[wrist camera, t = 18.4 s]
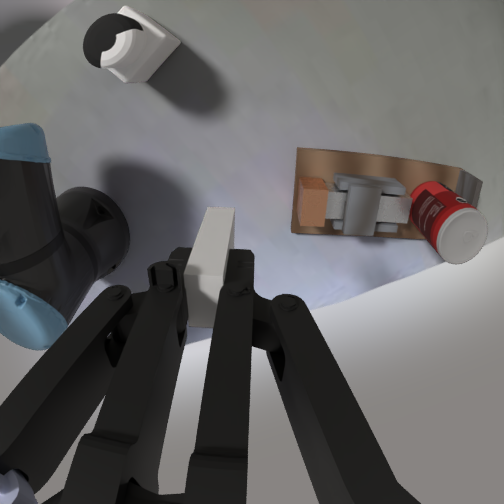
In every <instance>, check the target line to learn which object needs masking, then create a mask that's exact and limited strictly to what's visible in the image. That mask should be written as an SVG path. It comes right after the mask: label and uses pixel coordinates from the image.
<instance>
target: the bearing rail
mask: <svg viewBox="0 0 504 504" xmlns="http://www.w3.org/2000/svg"><path fill="white" fill-rule="evenodd" d="M299 177H313V178H322V180H323V181H324V183H336V185H337V186H338V188H339V189H340V190H348V193H347V200H346V207H345V214H344V219H326V218H325V223H324V227H317V226H300V223H299V219H298V215H297V211H296V208H297V197H298V184H299ZM428 181H436V182H440V183H443V184H444V185H446V186H447V187H449V188H450V189H451V190H453V191H454V192H455V193H457V194H458V195H459V196H461V197H462V198H463V199H465V200H466V201H467V202H469V203H470V204H471V205H472V206H474V207H475V208H476V207H477V203H478V199H479V195H480V191H481V187H482V183H483V182H482V181H481V180H479V179H478V178H476V177H475V176H473V175H471V174H470V173H468V172H466V171H465V170H463V169H461V168H458V167H452V166H447V165H441V164H436V163H430V162H424V161H418V160H411V159H405V158H398V157H390V156H383V155H375V154H366V153H357V152H347V151H337V150H326V149H313V148H298V147H297V156H296V170H295V184H294V197H293V209H292V221H291V233H309V234H332V235H354V236H374V237H393V238H411V239H426V238H425V237H424V236H423V235H422V233H421V232H420V231H419V230H418V229H417V227H416V226H415V225H414V224H413V223H412V222H411V220H410V218H408V222H407V224H406V223H392V222H378V221H376V220H377V215H378V209H379V204H380V199H381V193H385V194H396V195H405V192H406V193H407V194H408V195H409V196H410V195H411V193H412V192H413V190H414V189H415V188H416V187H417V186H419V185H420V184H422V183H424V182H428Z"/></svg>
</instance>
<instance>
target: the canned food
mask: <svg viewBox="0 0 504 504" xmlns="http://www.w3.org/2000/svg"><path fill="white" fill-rule="evenodd" d="M410 197H411V198H412V199H413V200H412V204H411V209H410V213H409V218H410V220H411V222H412V223H413V224H414V225H415V226H416V227H417V229H418V230H419V231H420V232H421V233H422V235H423V236H424V237H425V238H426V239H427V241H428V242H429V243H430V244H431V245H432V247H433V248H434V249H435V250H436V252H437V253H438V254H439V255H440V256H441V257H442V258H443V259H444V260H445V261H446V262H448V263H451V264H462V263H465V262H467V261H469V260H471V259H472V258H473V257H475V256H476V255H477V254H478V253H479V251H480V250H481V249H482V247H483V245H484V244H485V241H486V239H487V234H488V224H487V221H486V219H485V217H484V216H483V215H482V213H481V212H479V211H478V210H477V209H476V208H475V207H474V206H472V205H471V204H470V203H469V202H467V201H466V200H465V199H463V198H462V197H461V196H459V195H458V194H457V193H455V192H454V191H453V190H451V189H450V188H449V187H447V186H446V185H444V184H443V183H440V182H436V181H428V182H424V183H422V184H420V185H419V186H417V187H416V188H415V189H414V190H413V192H412V193H411V195H410Z"/></svg>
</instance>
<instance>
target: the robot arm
mask: <svg viewBox="0 0 504 504" xmlns="http://www.w3.org/2000/svg"><path fill="white" fill-rule="evenodd" d="M50 162H51V158H50V157H49V155H48V150H47V145H46V140H45V134H44V131H43V129H42V128H41V127H40V126H39V125H37V124H34V123H25V124H18V125H11V126H6V127H0V333H1V334H2V335H3V336H5V337H6V338H8V339H9V340H11V341H12V342H14V343H16V344H18V345H20V346H22V347H25V348H28V349H32V350H46V349H48V350H47V351H46V352H45V354H44V355H43V356H42V357H41V358H40V359H39V361H38V362H37V363H36V364H35V365H34V366H33V367H32V369H31V370H30V371H29V372H28V373H27V374H26V375H25V377H24V378H23V379H22V380H21V381H20V383H19V384H18V385H17V386H16V387H15V389H14V390H13V391H12V392H11V393H10V395H9V396H8V397H7V398H6V400H5V401H4V402H3V404H2V405H1V406H0V504H38V502H37V500H36V499H35V496H34V494H35V493H37V492H38V491H39V490H40V489H41V488H42V487H43V486H44V485H45V484H46V483H47V482H48V480H49V479H50V478H51V476H52V475H53V473H54V472H55V470H56V469H57V467H58V466H59V464H60V463H61V461H62V460H63V458H64V457H65V455H66V453H67V452H68V450H69V449H70V447H71V446H72V444H73V443H74V441H75V440H76V438H77V437H78V435H79V434H80V432H81V430H82V429H83V428H84V426H85V425H86V423H87V421H88V420H89V419H90V417H91V416H92V414H93V413H94V411H95V410H96V408H97V406H98V405H99V404H100V402H101V401H102V399H103V398H104V396H105V395H106V396H105V399H104V401H103V404H102V407H101V410H100V412H99V415H98V418H97V421H96V424H95V427H94V429H93V431H92V432H91V433H88V434H84V435H83V436H82V437H81V439H80V441H79V443H78V446H77V449H76V452H75V455H74V458H73V461H72V464H71V467H70V471H69V474H68V477H67V480H66V484H65V487H64V489H63V490H61V491H60V492H58V493H57V494H55V495H54V496H52V497H51V498H49V499H48V500H46V501H45V502H43V503H42V504H246V496H247V495H246V494H247V469H248V433H249V407H250V380H251V353H252V352H251V351H252V346H253V347H256V348H260V349H263V350H266V353H267V357H268V360H269V363H270V366H271V369H272V372H273V374H274V377H275V380H276V383H277V386H278V389H279V392H280V395H281V398H282V401H283V403H284V406H285V409H286V412H287V415H288V418H289V421H290V423H291V426H292V429H293V432H294V435H295V438H296V440H297V443H298V446H299V449H300V452H301V455H302V457H303V460H304V463H305V466H306V468H307V471H308V474H309V477H310V480H311V482H312V485H313V488H314V491H315V493H316V496H317V499H318V501H319V504H421V503H420V502H419V501H417V500H416V499H415V498H414V497H413V496H412V495H411V494H410V493H409V492H408V491H406V490H405V489H404V488H403V487H402V486H401V485H400V484H399V483H398V482H397V480H396V478H395V476H394V474H393V472H392V470H391V468H390V466H389V464H388V462H387V460H386V458H385V456H384V454H383V452H382V450H381V448H380V446H379V444H378V442H377V440H376V438H375V436H374V434H373V432H372V430H371V428H370V426H369V424H368V422H367V420H366V418H365V416H364V414H363V412H362V410H361V408H360V407H359V405H358V403H357V401H356V399H355V397H354V395H353V393H352V391H351V389H350V387H349V385H348V383H347V381H346V379H345V378H344V376H343V374H342V372H341V370H340V368H339V366H338V364H337V362H336V360H335V359H334V357H333V355H332V353H331V351H330V349H329V347H328V345H327V343H326V341H325V339H324V337H323V336H322V334H321V332H320V330H319V328H318V326H317V324H316V323H315V321H314V319H313V317H312V315H311V313H310V311H309V309H308V308H307V306H306V304H305V302H304V301H303V300H302V299H301V298H299V297H298V296H295V295H291V294H282V295H278V296H276V297H275V298H273V300H268V299H265V298H263V297H261V296H259V295H258V294H257V293H256V292H255V290H254V254H253V253H252V251H251V250H244V249H234V226H235V208H226V207H208V208H207V210H206V213H205V216H204V218H203V221H202V224H201V227H200V229H199V232H198V235H197V238H196V240H195V243H194V246H193V248H182V247H178V248H176V249H175V250H174V251H173V252H171V255H170V257H169V260H168V261H161V262H157V263H154V264H152V265H151V266H150V267H149V268H148V269H147V271H148V277H149V283H150V287H149V290H148V291H145V292H141V293H134V294H131V291H130V289H129V288H128V287H126V286H123V285H115V286H111V287H108V288H106V289H105V290H104V291H102V292H101V293H100V294H99V295H98V296H97V298H96V299H95V300H94V301H93V302H92V303H91V304H90V305H89V306H88V307H87V308H86V309H85V310H84V311H83V312H82V313H81V314H80V315H79V316H78V317H77V318H76V319H75V321H74V322H73V323H72V324H71V325H70V326H69V327H68V325H69V323H70V321H71V320H72V318H73V316H74V315H75V313H76V311H77V309H78V308H79V306H80V304H81V303H82V301H83V300H84V298H85V296H86V295H87V293H88V291H89V290H90V288H91V287H92V285H93V284H94V282H96V281H98V280H99V279H101V278H103V277H104V276H106V275H108V274H110V273H111V272H113V271H114V270H115V269H116V268H117V267H118V266H119V265H120V263H121V262H122V260H123V259H124V257H125V255H126V253H127V251H128V248H129V241H130V236H129V229H128V225H127V222H126V219H125V217H124V215H123V213H122V212H121V210H120V209H119V207H118V206H117V205H116V204H115V203H114V202H113V201H112V200H111V199H110V198H109V197H108V196H106V195H105V194H103V193H102V192H100V191H98V190H95V189H92V188H88V187H75V188H71V189H69V190H67V191H65V192H64V193H62V194H61V195H60V196H58V197H57V198H56V195H55V190H54V185H53V179H52V173H51V166H50ZM187 321H188V322H189V327H202V328H213V333H212V340H211V346H210V352H209V358H208V364H207V370H206V377H205V383H204V389H203V396H202V402H201V410H200V416H199V423H198V429H197V436H196V443H195V449H194V452H193V453H192V454H191V457H190V461H189V466H188V473H187V480H186V487H185V493H181V494H167V495H159V494H158V491H159V490H158V489H159V487H158V486H159V485H158V469H159V464H160V458H161V453H162V448H163V443H164V438H165V433H166V428H167V423H168V419H169V413H170V409H171V404H172V399H173V395H174V390H175V386H176V381H177V376H178V372H179V368H180V363H181V359H182V354H183V350H184V346H185V342H186V338H187V328H186V325H187ZM67 327H68V328H67ZM61 334H62V335H61ZM109 334H110V335H109ZM108 335H109V336H108ZM107 336H108V337H107Z"/></svg>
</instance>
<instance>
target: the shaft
mask: <svg viewBox="0 0 504 504" xmlns="http://www.w3.org/2000/svg"><path fill="white" fill-rule="evenodd" d="M347 193H348V190H340V189H339V188H338V186H337V185H336V183H324V181H323V180H322V178H313V177H299V184H298V197H297V208H296V211H297V215H298V219H299V223H300V226H317V227H324V223H325V218H326V219H344V214H345V207H346V200H347ZM412 200H413V199H412V198H411V197H410V196H409V195H408V194H407V193H406V192H405V195H396V194H385V193H381V199H380V204H379V209H378V215H377V220H376V221H378V222H392V223H406V224H407V222H408V218H409V213H410V209H411V204H412Z"/></svg>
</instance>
